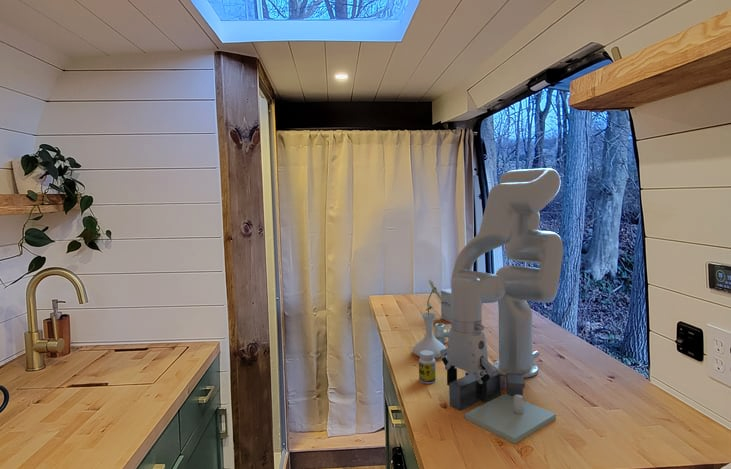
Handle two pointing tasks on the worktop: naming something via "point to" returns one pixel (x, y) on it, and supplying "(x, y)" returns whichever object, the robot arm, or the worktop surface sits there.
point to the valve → (441, 332)
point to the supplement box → (446, 305)
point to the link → (473, 390)
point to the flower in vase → (429, 331)
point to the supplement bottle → (427, 367)
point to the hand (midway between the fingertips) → (466, 390)
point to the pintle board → (511, 413)
